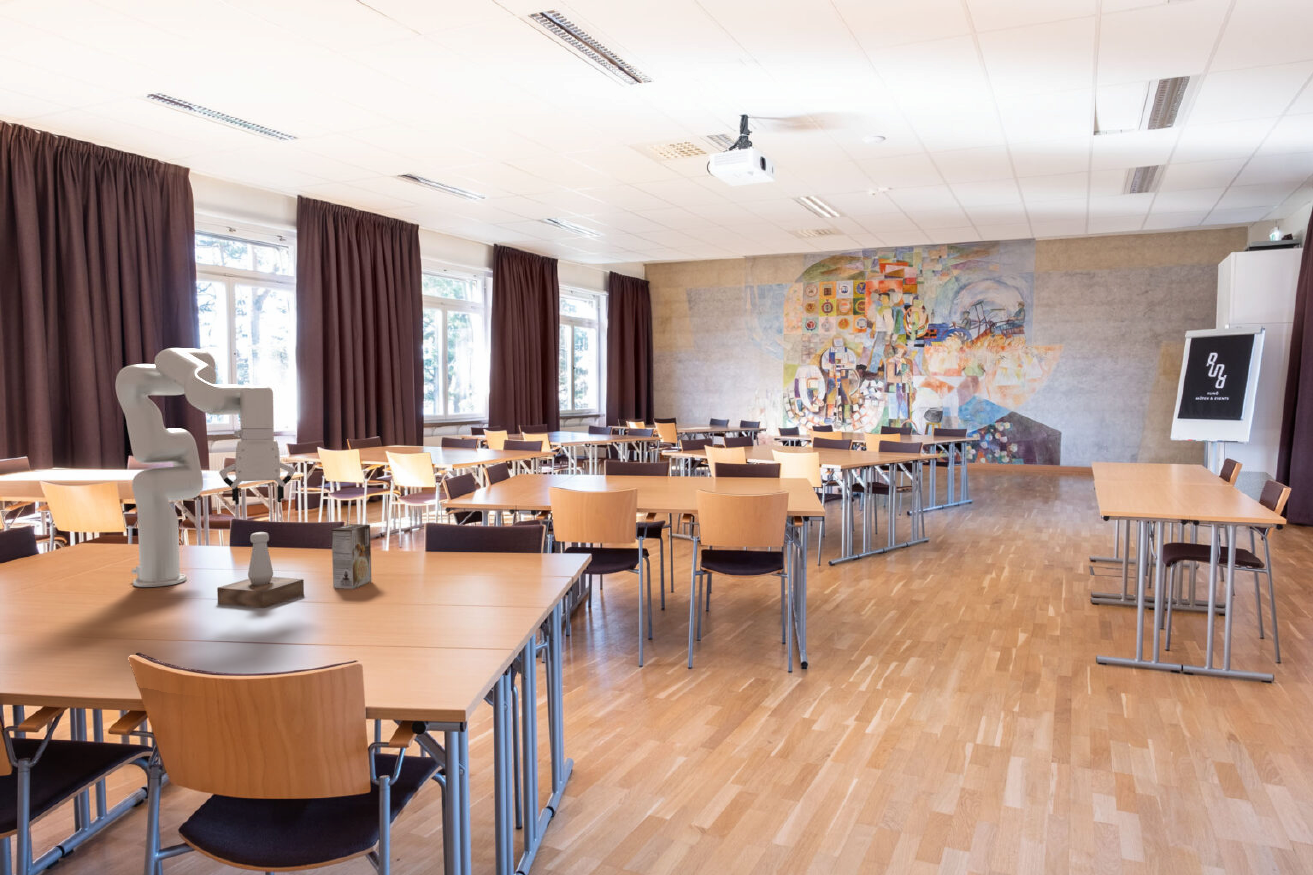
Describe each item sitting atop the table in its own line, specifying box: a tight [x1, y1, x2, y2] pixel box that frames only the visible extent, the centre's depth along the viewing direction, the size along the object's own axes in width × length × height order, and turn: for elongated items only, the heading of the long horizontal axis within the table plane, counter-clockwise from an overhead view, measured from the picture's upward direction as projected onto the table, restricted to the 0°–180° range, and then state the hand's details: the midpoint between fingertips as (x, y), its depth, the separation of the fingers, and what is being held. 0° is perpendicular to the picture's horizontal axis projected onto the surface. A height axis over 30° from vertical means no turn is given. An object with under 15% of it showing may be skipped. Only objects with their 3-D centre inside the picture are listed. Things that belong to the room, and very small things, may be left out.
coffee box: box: [331, 523, 373, 590], centre depth 226 cm, size 9×6×16 cm
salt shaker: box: [247, 531, 274, 585], centre depth 210 cm, size 6×6×13 cm
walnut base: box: [216, 576, 305, 609], centre depth 211 cm, size 14×14×4 cm
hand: (258, 502), depth 210 cm, fingers open, 9 cm apart
